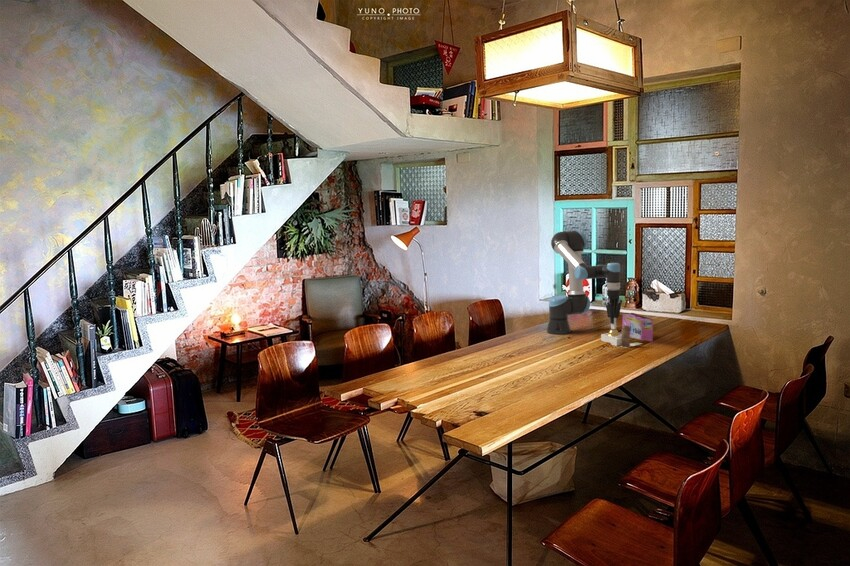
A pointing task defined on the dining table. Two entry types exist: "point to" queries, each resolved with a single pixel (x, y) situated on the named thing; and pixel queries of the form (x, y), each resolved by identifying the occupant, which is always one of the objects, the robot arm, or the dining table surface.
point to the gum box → (639, 326)
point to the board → (634, 344)
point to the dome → (613, 333)
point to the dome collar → (609, 337)
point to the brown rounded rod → (625, 336)
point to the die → (616, 341)
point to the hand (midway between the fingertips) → (613, 328)
